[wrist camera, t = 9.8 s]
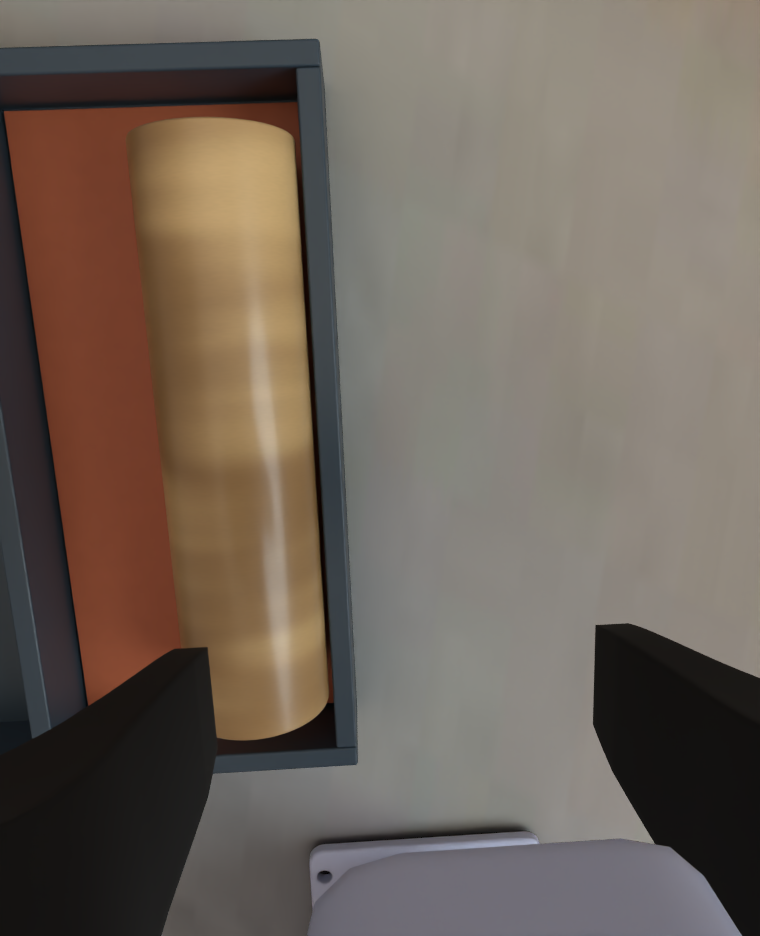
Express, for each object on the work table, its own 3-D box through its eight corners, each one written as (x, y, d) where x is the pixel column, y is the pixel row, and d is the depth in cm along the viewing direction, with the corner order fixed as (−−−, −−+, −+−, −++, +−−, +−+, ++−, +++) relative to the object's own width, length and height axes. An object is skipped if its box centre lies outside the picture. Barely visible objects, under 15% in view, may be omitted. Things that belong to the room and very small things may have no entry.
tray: (356, 709, 23) (358, 765, 20) (-189, 741, 22) (-269, 804, 20) (323, 81, 19) (319, 37, 16) (-340, 101, 19) (-470, 59, 16)
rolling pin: (255, 655, 23) (356, 685, 20) (157, 716, 19) (266, 758, 17) (213, 166, 19) (327, 142, 17) (88, 138, 16) (210, 103, 14)
